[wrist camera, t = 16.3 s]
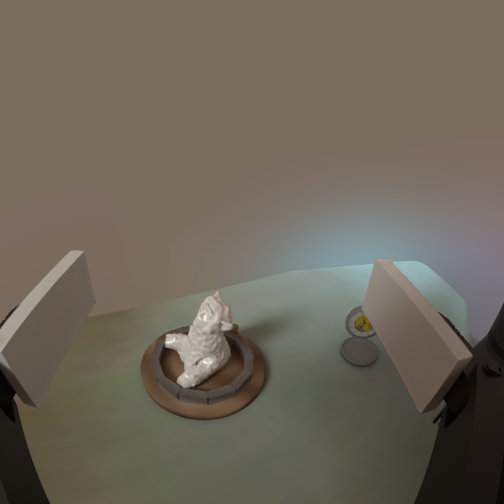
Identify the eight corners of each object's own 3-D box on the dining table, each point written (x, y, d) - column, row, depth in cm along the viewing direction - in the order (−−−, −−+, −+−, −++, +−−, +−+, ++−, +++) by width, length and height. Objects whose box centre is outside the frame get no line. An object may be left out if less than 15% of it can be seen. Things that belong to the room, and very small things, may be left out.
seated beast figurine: (161, 340, 39) (163, 276, 34) (215, 332, 44) (227, 271, 38) (179, 393, 32) (184, 333, 27) (239, 380, 37) (260, 321, 31)
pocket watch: (353, 372, 39) (374, 323, 35) (327, 340, 46) (341, 292, 42) (389, 358, 42) (410, 311, 38) (362, 330, 49) (378, 284, 45)
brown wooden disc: (195, 317, 50) (195, 302, 48) (285, 360, 42) (288, 345, 40) (118, 371, 36) (113, 356, 34) (215, 444, 27) (214, 432, 26)
